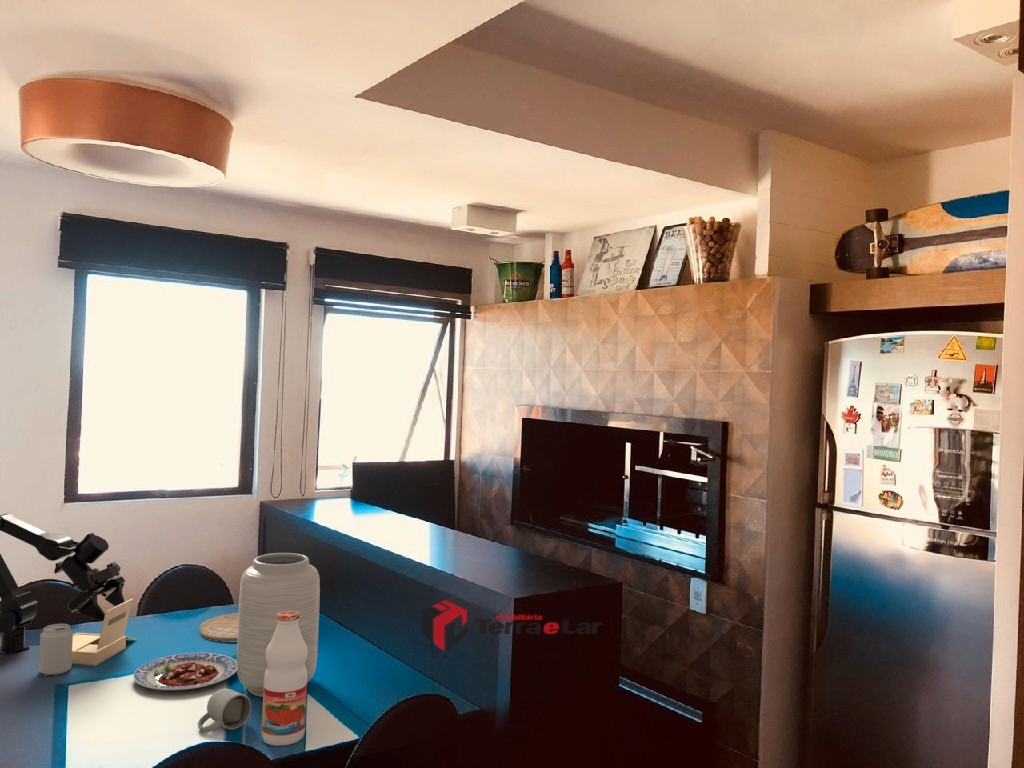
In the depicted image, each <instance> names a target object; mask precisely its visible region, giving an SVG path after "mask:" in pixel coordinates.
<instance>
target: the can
mask: <svg viewBox="0 0 1024 768" xmlns="http://www.w3.org/2000/svg"><path fill="white" fill-rule="evenodd" d="M42 630H43V631H42V632H41V633H40V637H39V639H40V640H39V662H38V663H39V665H38V671H39V673H41V674H42V673H43V674H45V675H44V676H47V675H54V676H59V674H60V675H62V674H65V673H67V672H68V671H69V670H70V669H71V668H72V667H73V666H72V665H73V664H72V643H73V634H74V631H73V629H72V628H71V625H70V624H67V623H53V624H50V625H47V626H45V627H43V629H42ZM43 674H42V675H43Z"/></svg>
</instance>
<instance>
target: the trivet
mask: <svg viewBox="0 0 1024 768" xmlns="http://www.w3.org/2000/svg"><path fill="white" fill-rule="evenodd" d="M238 613H239V612H234V613H227V614H221V615H217V616H215V617H211V618H209V619H206V620H204V621H203V622H202V623H200V625H199V632H198V633H199V635H200V636H201V637H202V636H203V637H202V638H204V637H205V638H207V639H206V640H208V639H211V640H217V641H237V638H238ZM205 638H204V639H205ZM211 640H210V641H211ZM217 641H216V642H217Z"/></svg>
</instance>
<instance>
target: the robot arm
mask: <svg viewBox="0 0 1024 768" xmlns="http://www.w3.org/2000/svg"><path fill="white" fill-rule="evenodd" d="M0 532H3V533H5V534H6V535H7V534H8V535H9V536H11V537H13V538H16V539H17V540H19V541H21V542H23V543H26V544H28V545H30V546H32V547H34V548H35V549H36V550H37V552H38V554H39V555H41V556H42V557H44V558H45V559H46V560H48V561H51V562H54V561H57V560H60V559H63V558H65V559H63V560H62V561H59V562H56V563H55V567H54V571H53V573H54V574H55V575H56V574H59V573H61V572H63V573H64V574H65V575H66V577H68V578H69V580H70V581H71V582H72V584H71V585H70V586H71V588H72V589H75V588H77V589H78V590H79V592H78V593H77V594H75V595H74V596H73V597H72V598H71V599H70V600H69V601H67V608H68V610H69V611H70V612H71V613H74V612H75V613H76V614H78V613H79V614H82V615H85V616H89V617H90V618H94V619H95V620H99V621H101V622H103V621H104V617H105V613H106V612H104V610H103V609H102V608H101V606H100V605H99V603H98V596H102V597H105V598H104V600H105V601H107V602H108V603H109V604H111V605H113V606H114V607H116V606H118V605H120V604H122V603H124V602H126V601H125V598H124V596H123V588H124V586H125V583H126V579H124V577H123V576H121V574H120V571H121V566H120V565H119V564H118V563H117V562H116V561H112V562H111V563H108V564H106V568H104V569H101V570H99V569H98V568H96V567H95V568H92V567H91V566H90V564H94V563H95V562H96V561H97V560H98V559H100V557H101V556H102V555H104V553H105V552H107V550H109V543H108V541H107V540H106V539H105V538H102V537H101V536H99V535H95V533H94V532H90V533H87V534H86V535H85V536H84V538H83V539H82V540H81V541H76V540H74V539H73V538H71V537H70V536H67V535H63V534H59V533H53V532H52V533H50V532H46V531H44V530H43V529H40V528H38V527H35V526H33V525H32V524H30V523H27V522H25V521H23V520H21V519H19V518H16V517H15V516H14V515H12V514H11V513H3V514H0ZM72 554H73V555H72ZM38 603H39V602H38V601H37V600H36V598H35V597H34V593H32V591H28V592H24V591H23V590H21V589H20V587H19V586H18V583H17V581H16V580H15V578H14V576H13V574H12V572H11V571H10V569H9V567H8V565H7V563H6V561H5V559H4V558H3V556H2V554H1V553H0V613H1V617H0V633H1V636H0V651H2V652H4V653H9V654H11V653H10V652H13V653H16V652H15V651H17V652H20V651H19V650H22V651H25V650H24V649H26V650H30V647H31V646H29V645H27V644H26V643H25V642H26V626H28V625H31V624H32V622H33V620H34V618H35V617H36V615H37V613H38V611H39V607H38V605H37V604H38Z"/></svg>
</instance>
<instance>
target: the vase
mask: <svg viewBox="0 0 1024 768" xmlns="http://www.w3.org/2000/svg"><path fill="white" fill-rule="evenodd" d="M320 583H321V581H320V574H319V571H318V569H317V568H316V567H315V566H314V565H312V564H310V558H309V557H308V556H307V555H304V554H302V553H301V554H300V553H293V552H275V553H267V554H262V555H259V556H256V557H255V558H254V559H253V561H252V565H251V566H249V567H248V568H246V569H245V570H244V571H243V573H242V575H241V577H240V584H239V585H240V586H239V597H238V598H239V599H238V612H237V613H238V638H237V642H236V643H237V644H236V662H237V671H236V673H237V678H238V680H239V682H240V684H241V685H243V686H244V687H245V688H246V689H247V690H248V692H249V693H250V694H252V695H254V696H256V697H261V698H263V686H264V675H265V671H266V669H267V662H266V657H265V654H266V649H267V646H268V645H269V643H270V642H271V640H272V638H273V635H274V633H275V630H276V627H277V625H278V622H277V614H278V613H279V612H281V611H287V610H292V611H297V612H299V621H298V625H299V628H300V632H301V635H302V638H303V640H304V642H305V643H306V645H307V658H306V661H305V667H306V670H307V683H308V682H309V681H310V680H311V679H312V678H313V676H314V674H315V672H316V669H317V661H318V650H319V649H318V648H319V646H318V645H319V644H318V643H319V624H320V623H319V622H320V620H319V619H320V599H321V598H320V596H321V595H320V594H321V587H320Z"/></svg>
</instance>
